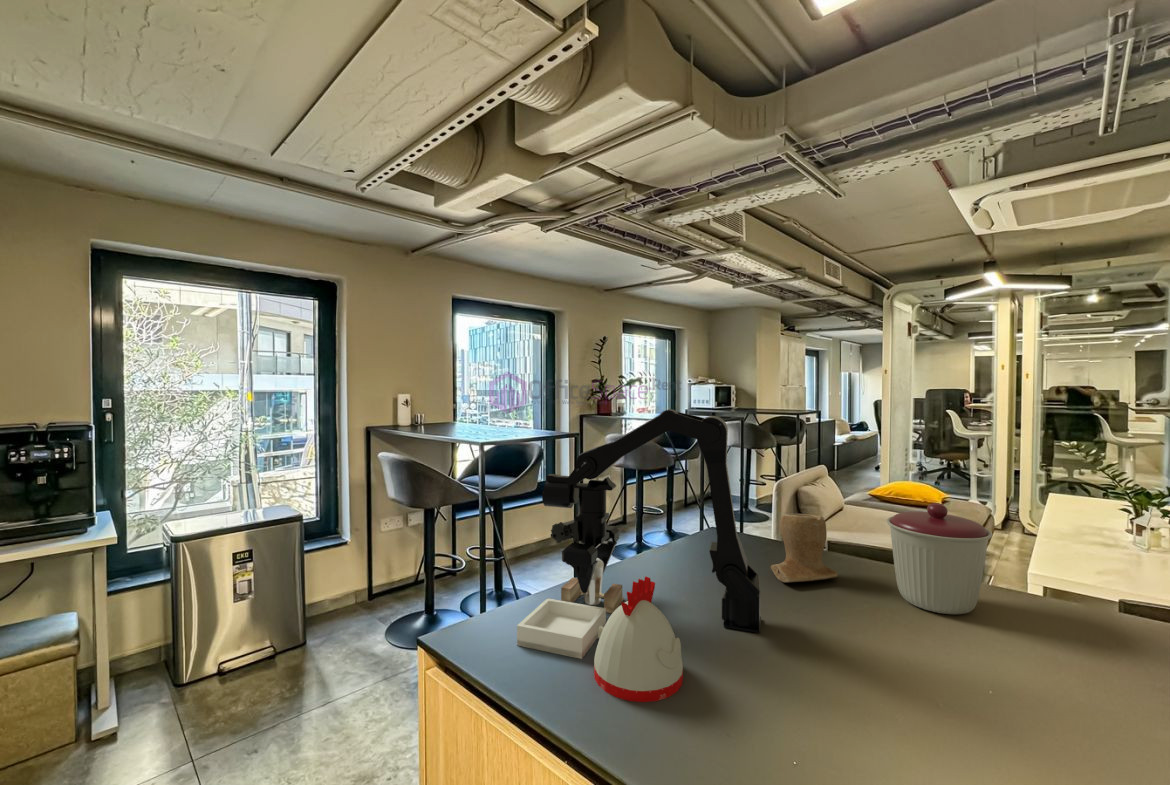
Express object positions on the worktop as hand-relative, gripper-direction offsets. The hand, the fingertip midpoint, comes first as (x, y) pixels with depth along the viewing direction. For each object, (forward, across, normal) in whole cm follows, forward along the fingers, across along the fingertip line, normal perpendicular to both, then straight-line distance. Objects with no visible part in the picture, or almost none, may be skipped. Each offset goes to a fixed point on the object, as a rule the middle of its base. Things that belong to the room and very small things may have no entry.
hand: (592, 584), depth 107 cm
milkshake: (+4, 0, 0) cm, 4 cm away
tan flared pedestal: (+4, -32, +41) cm, 52 cm away
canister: (+4, -26, +67) cm, 72 cm away
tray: (+4, +15, 0) cm, 15 cm away
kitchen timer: (+4, +22, +16) cm, 27 cm away
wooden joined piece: (+4, 0, 0) cm, 4 cm away
